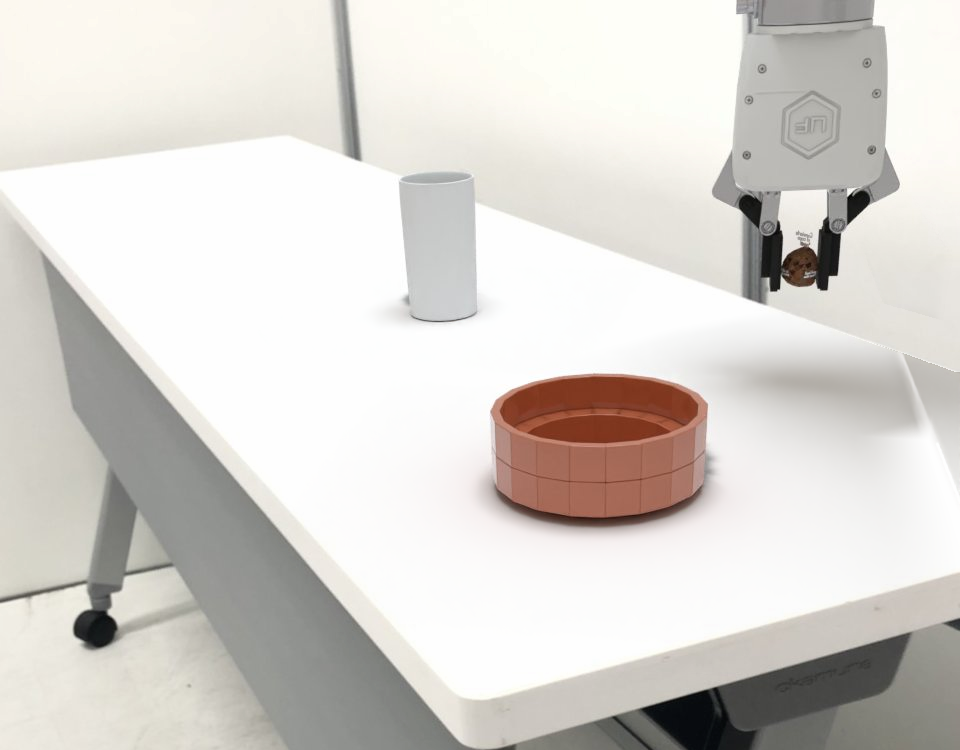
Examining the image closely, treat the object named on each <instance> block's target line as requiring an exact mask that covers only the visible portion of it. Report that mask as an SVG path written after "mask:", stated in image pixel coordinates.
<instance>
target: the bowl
mask: <svg viewBox="0 0 960 750" xmlns="http://www.w3.org/2000/svg"><path fill="white" fill-rule="evenodd" d="M708 411H709V404H708V402H707V401H706V400H705V399H704V398H703V397H702V396H701V394H699V392H696V391H694V390H692V389H691V388H688V387H686V386H684V385H682V384H679V383H677V382H673V381H669V380H665V379H661V378H657V377H652V376H645V375H644V376H643V375H635V374H626V373H598V372H597V373H595V372H594V373H584V374H571V375H570V374H569V375H560V376H554V377H551V378H550V377H549V378H545V379H539V380H536V381H535V380H534V381H530V382H529V383H526V384H522V385H519V386H517V387H514V388H512V389H510V390H508V391H506V392H505V393H503V394H502V395H501V396H499V397H498V398H496V399H495V400H494V403H493V405H492V406H491V408H490V410H489V418H490V419H489V420H490V421H489V422H490V440H491V441H490V444H491V468H492V469H491V470H492V479H493V481H494V485H495V486H496V489H497V490H498V491H499V492H501V493H502V494H503V495H504V496H505V497H507V498H508V499H510V500H511V501H512V502H514V503H516V504H519V505H522V506H524V507H526V508H530V509H532V510H535V511H539V512H545V513H550V514H556V515H561V516H567V517H576V518H588V519H591V518H592V519H595V518H597V519H605V518H618V517H627V516H633V515H642V514H646V513H650V512H654V511H658V510H662V509H665V508H669V507H672V506H674V505H676V504H678V503H680V502H682V501H685V500H686V499H689V498H690V497H692V496H693V495H694V494H695V493H696V492H697V491H698V490H699V489H700V488H701V487H702V486H703V484H704V481H705V468H706V467H705V465H706V451H707V430H708V413H709V412H708Z"/></svg>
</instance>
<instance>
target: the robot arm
mask: <svg viewBox="0 0 960 750" xmlns="http://www.w3.org/2000/svg"><path fill="white" fill-rule="evenodd" d="M875 2H876V1H875V0H736V1H735V4H736V5H735V15H746V16H747V17H749V16H752V19H754V20H755V19H756V23H757V25H756V31H754V32H749V33H747V34H746V35H745V39H744V43H743V46H742V51H741V57H740V62H739V70H738V77H737V84H736V95H735V108H734V119H733V131H732V145H731V146H732V147H731V150H730V151H729V153H728V156H727V158H726V159H725V161H724V163H723V165H722V167H721V169H720V171H719V173H718V175H717V177H716V179H715V181H714V183H713V185H712V188H711V194H712V196H713V198H714V199H716V200H718V201H719V202H722V203H724V204H726V205H728V206H730V207H732V208H735V209H737V210H739V211H740V212H741V213H742V214H743V215H744V216H745V217H746V218H747V219H748V220H749V221H750V222H751V224H753V225H754V226H755V227H756V228H757V230H759V232H760V234H761V253H760V279H768V284H769V292H771V293H777V292H778V291H780V290H781V286H782V285H781V284H782V276H781V268H782V263H783V250H784V249H783V247H784V235H783V230H782V229H781V228H782V227H781V221H780V220H779V212H780V204H781V196H782V192H796V191H797V192H799V191H820V190H821V191H822V190H823V191H824V190H826V217H825V218H824V219H823V220H822V225H821V228H818V235H817V236H818V237H817V251H816V255H817V258H818V272H817V276H816V279H815V284H816V288H817V290H819V291H820V292H825V291H826V292H827V291H828V290H829V281H830V277H838V275H839V267H840V254H841V242H842V233H843V232H845V230H846V229H847V228H848V226H849V225H850V224H851V223H852V222H853V221H854V220H855V219H856V218H857V217H858V216H859V215H861V213H862V212H864V210H866V209H867V208H868V207H869V206H870V205H872V204H875V203H877V202H878V201H880V200H883V199H885V198H887V197H888V196H890V195H892V194H894V193H895V192H897V191H898V190H899V189H900V187H901V182H900V179H899V177H898V175H897V173H896V169H895V167H894V165H893V162H892V160H891V158H890V156H889V153H888V151H887V148H886V136H887V118H888V117H887V115H888V89H889V88H888V86H889V85H888V84H889V78H888V77H889V75H888V72H889V71H888V69H889V68H888V67H889V65H888V47H887V46H888V45H887V35H886V28H885V26H883V25H877V24H875V25H874V14H875ZM848 189H854V190H853V191H852V192H851V193H849V195H848ZM753 192H761V198H760V200H759V198H757V196H756V195H755V194H753Z"/></svg>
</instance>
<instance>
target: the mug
mask: <svg viewBox="0 0 960 750" xmlns="http://www.w3.org/2000/svg"><path fill="white" fill-rule="evenodd" d="M398 187H399V188H398V189H399V205H400V214H401V215H400V217H401V228H402V237H403V247H404V259H405V270H406V281H407V282H406V283H407V291H408V300H409V311H410V315H411V316H412V317H414V318H416V319H419V320H422V321H429V322H446V321H455V320H456V321H457V320H461V319H465V318H468V317H471V316H473V315H474V314H476V313H477V311H478V298H477V297H478V296H477V295H478V293H477V290H478V287H477V284H478V278H477V274H478V273H477V233H476V227H477V226H476V193H475V175H474V174H473V173H471V172H467V171H461V170H432V171H422V172H414V173H410V174H405V175H402V176H400V177H399V178H398Z"/></svg>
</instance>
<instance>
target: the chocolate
mask: <svg viewBox="0 0 960 750" xmlns="http://www.w3.org/2000/svg"><path fill="white" fill-rule="evenodd" d="M795 236H797V240H798V241H799V245H800V246H801V247H798V248H796V249H793V250H792V251H790V252H789V253H787V254H786V256H785V257H784V259H783V260H782V268H781V278H782V279H783V280H784V281H785V283H787V284H788V285H790V286H792V287H795V288H806V287H807V288H808V287H811V286H813V285H814V284H816V276H817V272H818V258H817V253H816V252H815V250H814V249H813V248H811V247H810V245H811V239H812V238H813V236H814V235H813V232H810V233H809V234H808V233H805V232H804V231H802V232H800V230H797V231H795Z"/></svg>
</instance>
